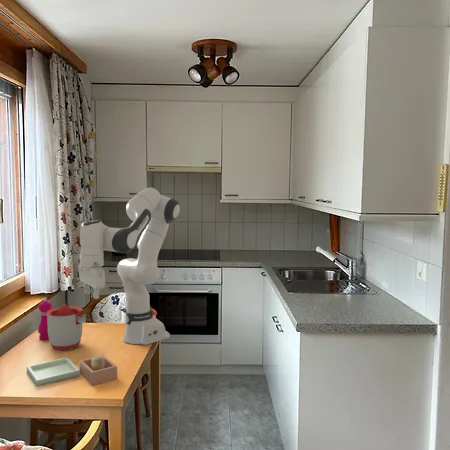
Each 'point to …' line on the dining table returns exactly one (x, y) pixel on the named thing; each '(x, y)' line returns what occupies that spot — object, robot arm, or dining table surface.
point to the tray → (52, 371)
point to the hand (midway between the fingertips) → (91, 295)
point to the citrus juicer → (65, 327)
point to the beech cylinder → (97, 363)
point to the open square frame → (98, 371)
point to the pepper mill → (44, 319)
